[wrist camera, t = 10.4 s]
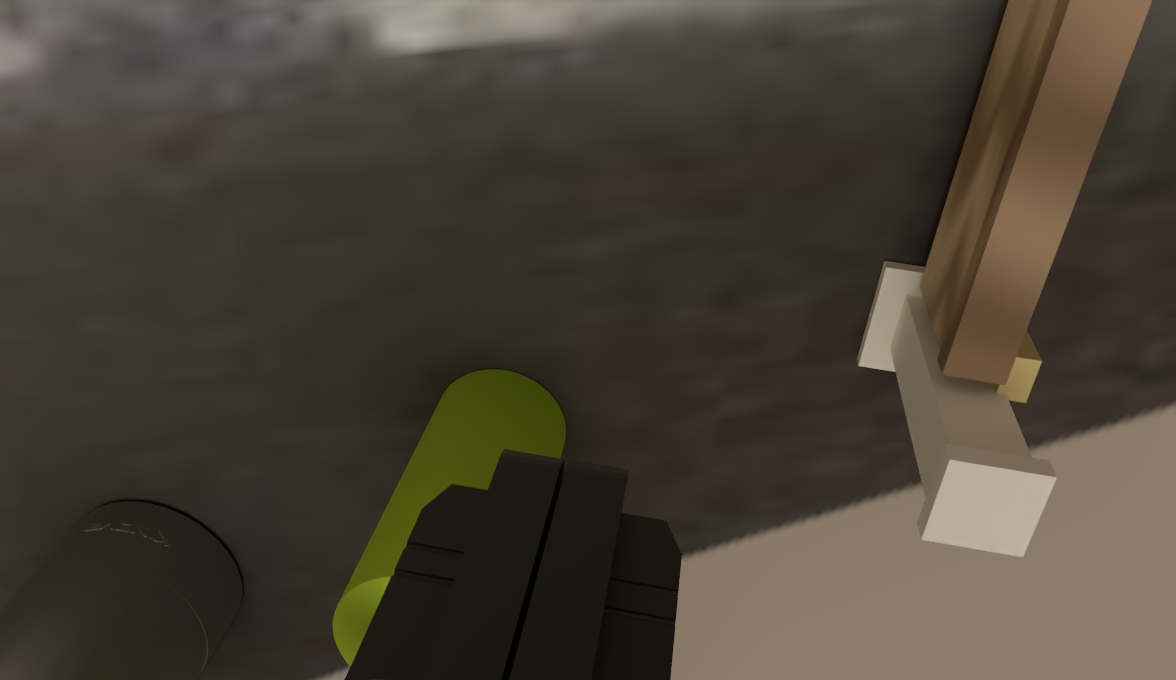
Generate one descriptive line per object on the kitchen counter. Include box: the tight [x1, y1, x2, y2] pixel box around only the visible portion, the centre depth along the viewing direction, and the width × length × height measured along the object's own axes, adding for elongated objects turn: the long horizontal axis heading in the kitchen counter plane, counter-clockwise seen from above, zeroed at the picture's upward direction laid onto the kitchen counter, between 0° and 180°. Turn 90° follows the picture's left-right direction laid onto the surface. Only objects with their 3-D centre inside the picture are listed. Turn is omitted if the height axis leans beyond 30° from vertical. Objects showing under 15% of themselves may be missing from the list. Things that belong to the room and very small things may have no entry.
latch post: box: [857, 261, 1057, 557], centre depth 34 cm, size 5×4×12 cm
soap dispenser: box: [333, 369, 566, 667], centre depth 36 cm, size 6×7×20 cm
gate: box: [919, 0, 1152, 385], centre depth 31 cm, size 16×2×6 cm, turn 174°
